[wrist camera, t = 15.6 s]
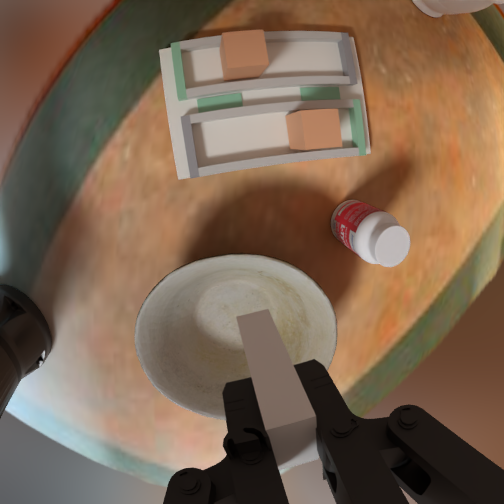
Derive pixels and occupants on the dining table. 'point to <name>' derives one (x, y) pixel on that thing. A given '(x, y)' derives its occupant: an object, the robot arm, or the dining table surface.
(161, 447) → the dining table surface
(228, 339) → the bowl
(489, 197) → the dining table surface
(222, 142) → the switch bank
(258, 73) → the tab
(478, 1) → the jar
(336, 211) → the pill bottle
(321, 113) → the tab
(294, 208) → the dining table surface
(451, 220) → the dining table surface
